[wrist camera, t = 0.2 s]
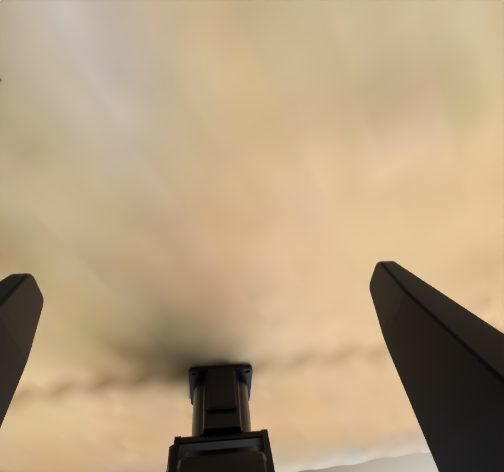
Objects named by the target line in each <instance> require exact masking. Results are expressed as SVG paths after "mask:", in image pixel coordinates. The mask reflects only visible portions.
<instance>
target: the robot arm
mask: <svg viewBox="0 0 504 472" xmlns="http://www.w3.org/2000/svg"><path fill="white" fill-rule="evenodd" d="M370 292H371V296H372V299H373V303H374V306H375V310H376V313H377V317H378V320H379V324H380V327H381V330H382V334H383V337H384V340H385V342H386V345H387V348H388V350H389V352H390V355H391V357H392V360H393V362H394V365H395V367H396V369H397V372H398V374H399V377H400V379H401V381H402V384H403V386H404V389H405V391H406V393H407V396H408V398H409V401H410V403H411V405H412V408H413V410H414V413H415V415H416V418H417V420H418V422H419V425H420V427H421V430H422V432H423V434H424V437H425V439H426V442H427V444H428V446H429V449H430V451H431V454H432V456H433V458H434V461H435V463H436V466H437V468H438V471H439V472H504V334H503V333H502V332H500V331H499V330H497V329H496V328H494V327H493V326H491V325H490V324H488V323H487V322H485V321H484V320H482V319H480V318H479V317H477V316H476V315H474V314H473V313H471V312H470V311H468V310H467V309H465V308H464V307H462V306H461V305H459V304H458V303H456V302H455V301H453V300H452V299H450V298H449V297H447V296H446V295H444V294H443V293H441V292H440V291H438V290H437V289H435V288H433V287H432V286H430V285H429V284H427V283H426V282H424V281H423V280H421V279H420V278H418V277H417V276H415V275H414V274H412V273H411V272H409V271H408V270H406V269H405V268H403V267H402V266H400V265H399V264H397V263H396V262H394V261H380V262H378V263H377V264H376V266H375V269H374V272H373V275H372V278H371V281H370ZM42 307H43V296H42V293H41V291H40V289H39V287H38V285H37V283H36V281H35V279H34V277H33V276H32V275H31V274H28V273H23V274H12V275H10V276H8V277H7V278H5V279H3V280H2V281H0V427H1V425H2V422H3V420H4V417H5V415H6V412H7V410H8V407H9V405H10V403H11V400H12V398H13V395H14V393H15V390H16V388H17V385H18V383H19V380H20V378H21V375H22V373H23V371H24V368H25V365H26V363H27V360H28V357H29V354H30V350H31V347H32V343H33V339H34V336H35V332H36V329H37V325H38V322H39V318H40V314H41V311H42ZM251 379H252V367H251V366H250V365H241V366H220V367H199V368H191V369H190V370H189V380H190V393H191V404H192V405H193V422H192V437H181V436H179V437H175V440H174V445H172V446H170V447H169V456H168V465H167V471H166V472H275V470H274V464H273V459H272V453H271V448H270V442H269V437H268V431H267V429H263V430H261V431H252V432H251V423H250V412H249V398H250V389H251Z"/></svg>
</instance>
